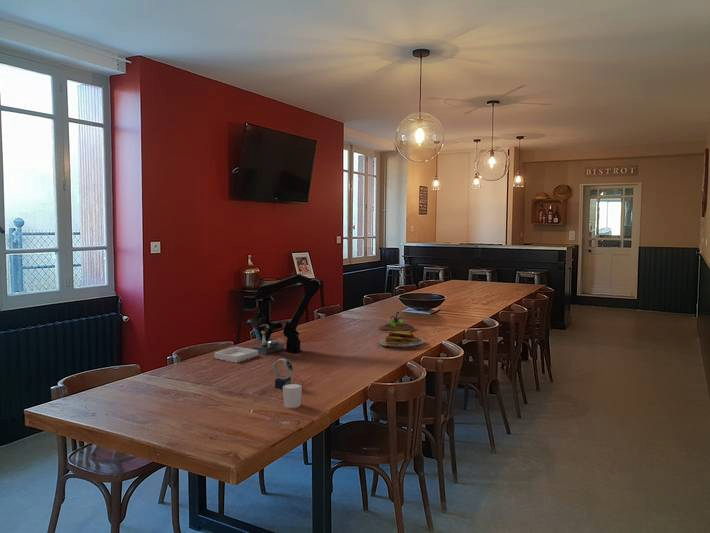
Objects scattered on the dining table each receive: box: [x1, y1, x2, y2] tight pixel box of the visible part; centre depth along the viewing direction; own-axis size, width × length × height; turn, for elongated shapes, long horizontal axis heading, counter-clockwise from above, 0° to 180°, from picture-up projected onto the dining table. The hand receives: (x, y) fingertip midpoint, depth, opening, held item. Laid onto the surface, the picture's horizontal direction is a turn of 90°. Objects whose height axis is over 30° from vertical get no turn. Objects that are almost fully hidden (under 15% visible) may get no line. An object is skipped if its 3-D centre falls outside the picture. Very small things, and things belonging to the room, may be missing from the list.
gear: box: [254, 328, 272, 342], centre depth 299 cm, size 11×6×10 cm
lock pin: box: [261, 329, 267, 347], centre depth 271 cm, size 4×4×10 cm
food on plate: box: [378, 331, 426, 349], centre depth 288 cm, size 25×25×7 cm
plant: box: [378, 311, 414, 332], centre depth 328 cm, size 20×20×11 cm
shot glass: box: [282, 383, 303, 409], centre depth 192 cm, size 7×7×7 cm
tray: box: [213, 346, 259, 364], centre depth 260 cm, size 15×15×3 cm
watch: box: [272, 358, 294, 390], centre depth 215 cm, size 6×8×11 cm
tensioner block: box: [252, 339, 285, 355], centre depth 274 cm, size 8×14×4 cm, turn 149°
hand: (264, 340), depth 271 cm, fingers closed on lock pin, 3 cm apart
